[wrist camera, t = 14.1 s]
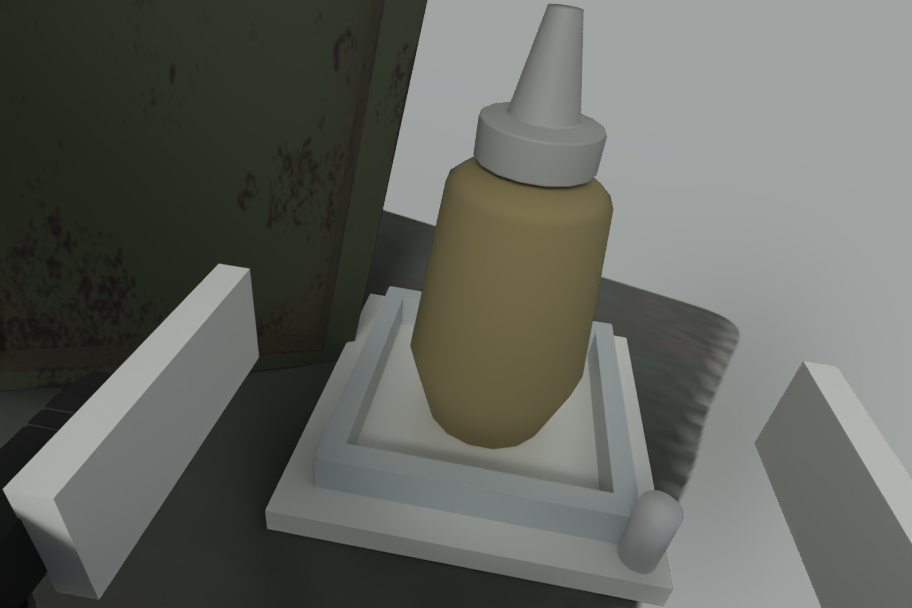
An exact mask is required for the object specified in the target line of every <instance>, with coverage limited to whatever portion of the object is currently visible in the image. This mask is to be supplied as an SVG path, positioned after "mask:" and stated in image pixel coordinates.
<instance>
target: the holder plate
mask: <svg viewBox="0 0 912 608" xmlns="http://www.w3.org/2000/svg"><path fill="white" fill-rule="evenodd" d="M421 293H422V292H421V291H415V290H409V289H404V288H398V287H392V286H390V287H389V289H388V291H387V293H386V296H381V295H375V294H370V295H369V297H368V300H367V302H366V304H365V306H364V308H363V310H362V312H361V314H360V319H359V324H358V328H357V333H356V338H355V341H353V342H347V343H346V345H345V347H344V349H343V351H342V353H341V355H340V357H339V359H338V361H337V363H336V365H335V368H334V370H333V372H332V374H331V376H330V378H329V380H328V382H327V384H326V386H325V388H324V390H323V392H322V394H321V396H320V398H319V401H318V403H317V405H316V407H315V409H314V411H313V413H312V415H311V417H310V419H309V421H308V423H307V425H306V427H305V429H304V431H303V434H302V436H301V438H300V440H299V442H298V444H297V446H296V448H295V450H294V452H293V454H292V456H291V458H290V460H289V462H288V464H287V467H286V469H285V471H284V473H283V475H282V477H281V479H280V481H279V483H278V485H277V487H276V489H275V491H274V493H273V495H272V497H271V499H270V502H269V504H268V506H267V508H266V510H265V514H266V522H267V529H270V530H275V531H281V532H286V533H291V534H296V535H301V536H306V537H311V538H317V539H322V540H327V541H332V542H337V543H342V544H347V545H352V546H358V547H363V548H368V549H373V550H378V551H383V552H388V553H394V554H399V555H404V556H409V557H414V558H419V559H424V560H429V561H435V562H440V563H445V564H450V565H455V566H460V567H465V568H471V569H476V570H481V571H486V572H491V573H496V574H501V575H506V576H512V577H517V578H522V579H527V580H532V581H537V582H542V583H547V584H553V585H558V586H563V587H568V588H573V589H578V590H583V591H589V592H594V593H599V594H604V595H609V596H614V597H619V598H624V599H630V600H635V601H640V602H645V603H650V604H655V605H661V606H663V605H664V603H665V602H666V600H667V598H668V597H669V595H670V594H671V592H672V590H673V587H672V582H671V577H670V571H669V566H668V560H667V555H666V549H667V547H668V546H669V544H670V542H671V540H672V538H673V536H674V535H675V533H676V531H677V529H678V528H679V526H680V524H681V522H682V520H683V511H682V508H681V506H680V505H679V503H678V502H677V501H676V500H675V499H674V498H673V497H671V496H670V495H668V494H667V493H664V492H662V491H658V490H654V485H653V479H652V474H651V469H650V463H649V458H648V452H647V447H646V442H645V436H644V431H643V425H642V420H641V415H640V409H639V404H638V399H637V393H636V388H635V382H634V377H633V372H632V366H631V361H630V355H629V350H628V345H627V339H626V338H624V337H619V336H614V335H613V329H612V324H607V323H602V322H596V321H593V323H592V328H591V334H590V339H589V345H588V350H587V356H586V361H585V367H584V372H583V377H582V379H581V380H580V382H579V383H578V385H577V386H576V388H575V390H574V391H573V393H572V394H571V396H570V397H569V398H568V399H567V400H566V402H565V403H564V404H563V405H562V406H561V407H560V408H559V409H558V411H557V412H556V413H555V414H554V415H553V416H552V417H551V418H550V419H549V421H548V422H547V423H546V424H545V425H544V426H543V427H542V428H541V429H540V431H539V432H538V433H537V434H536V435H535V436H534V437H532V438H531V439H529V440H527V441H525V442H523V443H521V444H520V445H518V446H515V447H507V448H499V449H489V448H483V447H478V446H473V445H468V444H466V443H464V442H462V441H460V440H458V439H457V438H455V437H453V436H451V435H449V434H447V433H446V432H445V431H444V430H443V429H442V427H441V426H440V425H439V424H438V423H437V422H436V421H435V420H434V419H433V417H432V414H431V411H430V408H429V405H428V402H427V399H426V396H425V392H424V389H423V386H422V383H421V380H420V377H419V374H418V371H417V368H416V364H415V361H414V357H413V354H412V351H411V347H410V343H411V339H412V334H413V330H414V325H415V320H416V316H417V311H418V307H419V302H420V297H421Z"/></svg>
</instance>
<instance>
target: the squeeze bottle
mask: <svg viewBox="0 0 912 608" xmlns="http://www.w3.org/2000/svg"><path fill="white" fill-rule="evenodd" d="M583 11H584V10H583V9H581V8H578V7H573V6H568V5H559V4H548V6H547V9H546V11H545V14H544V16H543V19H542V22H541V24H540V27H539V29H538V32H537V35H536V37H535V40H534V43H533V45H532V48H531V50H530V53H529V56H528V58H527V61H526V63H525V66H524V69H523V71H522V74H521V77H520V79H519V82H518V84H517V87H516V90H515V92H514V95H513V98H512V100H511V102H504V103H495V104H492V105H490V106H487V107H484V108H483V109H482V110H481V112H480V115H479V118H478V125H477V133H476V140H475V147H474V157H472V158H470V159H468V160H466V161H464V162H462V163H461V164H459V165H458V166H456V167H454V168H453V169H451V170H450V172H449V175H448V177H447V180H446V182H445V187H444V191H443V196H442V200H441V205H440V210H439V215H438V219H437V224H436V228H435V233H434V237H433V242H432V247H431V251H430V256H429V260H428V265H427V270H426V274H425V279H424V283H423V288H422V293H421V297H420V302H419V307H418V311H417V316H416V320H415V325H414V330H413V334H412V339H411V343H410V347H411V351H412V354H413V357H414V361H415V364H416V368H417V371H418V374H419V377H420V380H421V383H422V386H423V389H424V392H425V396H426V399H427V402H428V405H429V408H430V411H431V414H432V417H433V419H434V420H435V421H436V422H437V423H438V424H439V425H440V426H441V427H442V429H443V430H444V431H445V432H446V433H447V434H449V435H451V436H453V437H455V438H457V439H458V440H460V441H462V442H464V443H466V444H468V445H473V446H478V447H483V448H489V449H499V448H507V447H515V446H518V445H520V444H521V443H523V442H525V441H527V440H529V439H531V438H532V437H534V436H535V435H536V434H537V433H538V432H539V431H540V429H541V428H542V427H543V426H544V425H545V424H546V423H547V422H548V421H549V419H550V418H551V417H552V416H553V415H554V414H555V413H556V412H557V411H558V409H559V408H560V407H561V406H562V405H563V404H564V403H565V402H566V400H567V399H568V398H569V397H570V396H571V394H572V393H573V391H574V390H575V388H576V386H577V385H578V383H579V382H580V380H581V379H582V377H583V372H584V367H585V361H586V356H587V350H588V345H589V339H590V334H591V328H592V323H593V317H594V312H595V307H596V301H597V296H598V290H599V285H600V279H601V274H602V268H603V263H604V257H605V252H606V246H607V241H608V235H609V230H610V225H611V218H612V213H613V206H612V201H611V196H610V195H609V194H608V193H607V191H606V190H605V188H604V187H603V186H602V184H601V183H599V182H598V181H597V180H596V179H595V178H594V176H596V175H597V171H598V168H599V164H600V160H601V157H602V153H603V149H604V146H605V142H606V138H607V136H606V132H605V128H604V127H603V126H602V125H601V124H599V123H598V122H596V121H595V120H594V119H592V118H590V117H587V116H585V115H583V114H581V88H582V48H583Z"/></svg>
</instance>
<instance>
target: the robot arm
mask: <svg viewBox="0 0 912 608" xmlns="http://www.w3.org/2000/svg"><path fill="white" fill-rule="evenodd" d="M258 358H259V351H258V342H257V332H256V323H255V313H254V304H253V295H252V285H251V276H250V269H248V268H242V267H236V266H230V265H224V264H218V265H217V266H216V267H215V268H214V269H213V270H212V271H211V272H210V273H209V274H208V276H207V277H206V278H205V279H204V280H203V281H202V282H201V283H200V284H199V285H198V286H197V287H196V288H195V289H194V290H193V291H192V292H191V293H190V294H189V295H188V296H187V297H186V298H185V300H184V301H183V302H182V303H181V304H180V305H179V306H178V307H177V308H176V309H175V310H174V311H173V312H172V313H171V314H170V315H169V316H168V317H167V318H166V319H165V320H164V321H163V322H162V324H161V325H160V326H159V327H158V328H157V329H156V330H155V331H154V332H153V333H152V334H151V335H150V336H149V337H148V338H147V339H146V340H145V341H144V342H143V343H142V344H141V345H140V346H139V347H138V349H137V350H136V351H135V352H134V353H133V354H132V355H131V356H130V357H129V358H128V359H127V360H126V361H125V362H124V363H123V364H122V365H121V366H120V367H119V368H118V369H117V370H116V371H115V373H114V374H109V373H103V372H98V371H92V372H90V373H89V374H87V375H85V376H83V377H81V378H80V379H78V380H76V381H74V382H72V383H71V384H69V385H67V386H65V387H64V388H63V389H62V390H61V391H60V392H59V393H58V394H57V395H56V396H55V397H54V398H53V399H52V400H51V401H50V402H49V403H48V404H47V405H46V406H45V409H44V410H41V411H40V412H38V413H37V414H36V415H35V416H34V417H33V418H32V419H31V420H30V421H29V422H28V426H27V427H23V428H22V429H21V430H20V431H19V432H18V433H17V434H16V435H15V436H14V437H13V438H12V439H11V440H9V441H8V442H7V443H6V444H5V445H4V446H3V447H2V448H1V449H0V608H36V603H35V600H34V598H33V595H32V591H33V590H34V589H35V587H36V586H37V585H38V583H39V582H40V581H41V580H42V578H43V577H44V576H45V574H46V573H47V575H48V577H49V579H50V581H51V583H52V585H53V586H54V588H55V590H56V592H60V593H65V594H71V595H76V596H81V597H86V598H91V599H96V600H99V599H100V598H101V596H102V595H103V593H104V592H105V590H106V589H107V587H108V586H109V584H110V583H111V581H112V580H113V578H114V577H115V575H116V574H117V572H118V571H119V569H120V568H121V566H122V564H123V563H124V561H125V560H126V558H127V557H128V555H129V554H130V552H131V551H132V549H133V548H134V546H135V545H136V543H137V542H138V540H139V539H140V537H141V536H142V534H143V533H144V531H145V530H146V528H147V527H148V525H149V523H150V522H151V520H152V519H153V517H154V516H155V514H156V513H157V511H158V510H159V508H160V507H161V505H162V504H163V502H164V501H165V499H166V498H167V496H168V495H169V493H170V492H171V490H172V489H173V487H174V486H175V484H176V482H177V481H178V479H179V478H180V476H181V475H182V473H183V472H184V470H185V469H186V467H187V466H188V464H189V463H190V461H191V460H192V458H193V457H194V455H195V454H196V452H197V451H198V449H199V448H200V446H201V445H202V443H203V441H204V440H205V438H206V437H207V435H208V434H209V432H210V431H211V429H212V428H213V426H214V425H215V423H216V422H217V420H218V419H219V417H220V416H221V414H222V413H223V411H224V410H225V408H226V407H227V405H228V404H229V402H230V400H231V399H232V397H233V396H234V394H235V393H236V391H237V390H238V388H239V387H240V385H241V384H242V382H243V381H244V379H245V378H246V376H247V375H248V373H249V372H250V370H251V369H252V367H253V366H254V364H255V363H256V361H257V359H258ZM755 445H756V448H757V450H758V452H759V455H760V458H761V460H762V462H763V465H764V467H765V470H766V472H767V475H768V477H769V480H770V482H771V485H772V487H773V490H774V492H775V494H776V497H777V499H778V502H779V504H780V506H781V509H782V512H783V514H784V517H785V519H786V521H787V524H788V526H789V529H790V531H791V534H792V536H793V539H794V541H795V544H796V546H797V549H798V551H799V553H800V556H801V558H802V561H803V563H804V565H805V568H806V571H807V573H808V576H809V578H810V580H811V583H812V585H813V588H814V590H815V593H816V595H817V598H818V600H819V603H820V605H821V608H912V479H911V478H910V476H909V475H908V473H907V472H906V470H905V469H904V467H903V466H902V464H901V462H900V461H899V459H898V458H897V457H896V455H895V453H894V452H893V450H892V449H891V447H890V446H889V444H888V443H887V441H886V440H885V438H884V437H883V436H882V434H881V432H880V431H879V429H878V428H877V426H876V425H875V423H874V422H873V420H872V419H871V417H870V416H869V414H868V413H867V411H866V410H865V408H864V407H863V405H862V404H861V402H860V401H859V399H858V398H857V396H856V395H855V393H854V392H853V390H852V389H851V387H850V386H849V384H848V383H847V381H846V380H845V378H844V377H843V375H842V374H841V372H840V371H839V369H838V368H837V367H835V366H830V365H823V364H818V363H812V362H806V361H803V362H802V364H801V366H800V367H799V369H798V371H797V373H796V374H795V376H794V378H793V379H792V381H791V383H790V384H789V386H788V388H787V389H786V391H785V393H784V395H783V396H782V398H781V399H780V401H779V403H778V405H777V406H776V408H775V410H774V411H773V413H772V414H771V416H770V418H769V420H768V422H767V423H766V425H765V426H764V428H763V430H762V431H761V433H760V435H759V436H758V438H757V440H756V442H755Z"/></svg>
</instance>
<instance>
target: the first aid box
mask: <svg viewBox="0 0 912 608" xmlns="http://www.w3.org/2000/svg"><path fill="white" fill-rule="evenodd" d="M426 4H427V0H0V391H9V390H22V389H34V388H47V387H59V386H67V385H69V384H71V383H72V382H74V381H76V380H78V379H80V378H81V377H83V376H85V375H87V374H89V373H90V372H92V371H98V372H103V373H109V374H114V373H115V371H116V370H117V369H118V368H119V367H120V366H121V365H122V364H123V363H124V362H125V361H126V360H127V359H128V358H129V357H130V356H131V355H132V354H133V353H134V352H135V351H136V350H137V349H138V347H139V346H140V345H141V344H142V343H143V342H144V341H145V340H146V339H147V338H148V337H149V336H150V335H151V334H152V333H153V332H154V331H155V330H156V329H157V328H158V327H159V326H160V325H161V324H162V322H163V321H164V320H165V319H166V318H167V317H168V316H169V315H170V314H171V313H172V312H173V311H174V310H175V309H176V308H177V307H178V306H179V305H180V304H181V303H182V302H183V301H184V300H185V298H186V297H187V296H188V295H189V294H190V293H191V292H192V291H193V290H194V289H195V288H196V287H197V286H198V285H199V284H200V283H201V282H202V281H203V280H204V279H205V278H206V277H207V276H208V274H209V273H210V272H211V271H212V270H213V269H214V268H215V267H216V266H217V265H218V264H224V265H230V266H236V267H242V268H248V269H250V276H251V285H252V295H253V304H254V313H255V323H256V332H257V342H258V351H259V358H258V359H257V361H256V363H255V364H254V366H253V367H252V369H251V370H250V371H260V370H272V369H284V368H295V367H301V366H307V365H313V364H318V363H324V362H330V361H336V360H338V359H339V357H340V355H341V353H342V351H343V349H344V347H345V345H346V343H347V342H353V341H355V338H356V333H357V328H358V324H359V319H360V314H361V310H362V305H363V300H364V296H365V291H366V286H367V281H368V277H369V272H370V267H371V263H372V258H373V253H374V249H375V244H376V239H377V234H378V230H379V225H380V220H381V216H382V211H383V206H384V201H385V197H386V192H387V187H388V183H389V178H390V173H391V168H392V164H393V159H394V155H395V150H396V145H397V140H398V136H399V130H400V126H401V122H402V117H403V112H404V107H405V103H406V98H407V94H408V88H409V84H410V79H411V74H412V70H413V65H414V60H415V56H416V51H417V47H418V42H419V37H420V32H421V27H422V23H423V18H424V14H425V9H426Z"/></svg>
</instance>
